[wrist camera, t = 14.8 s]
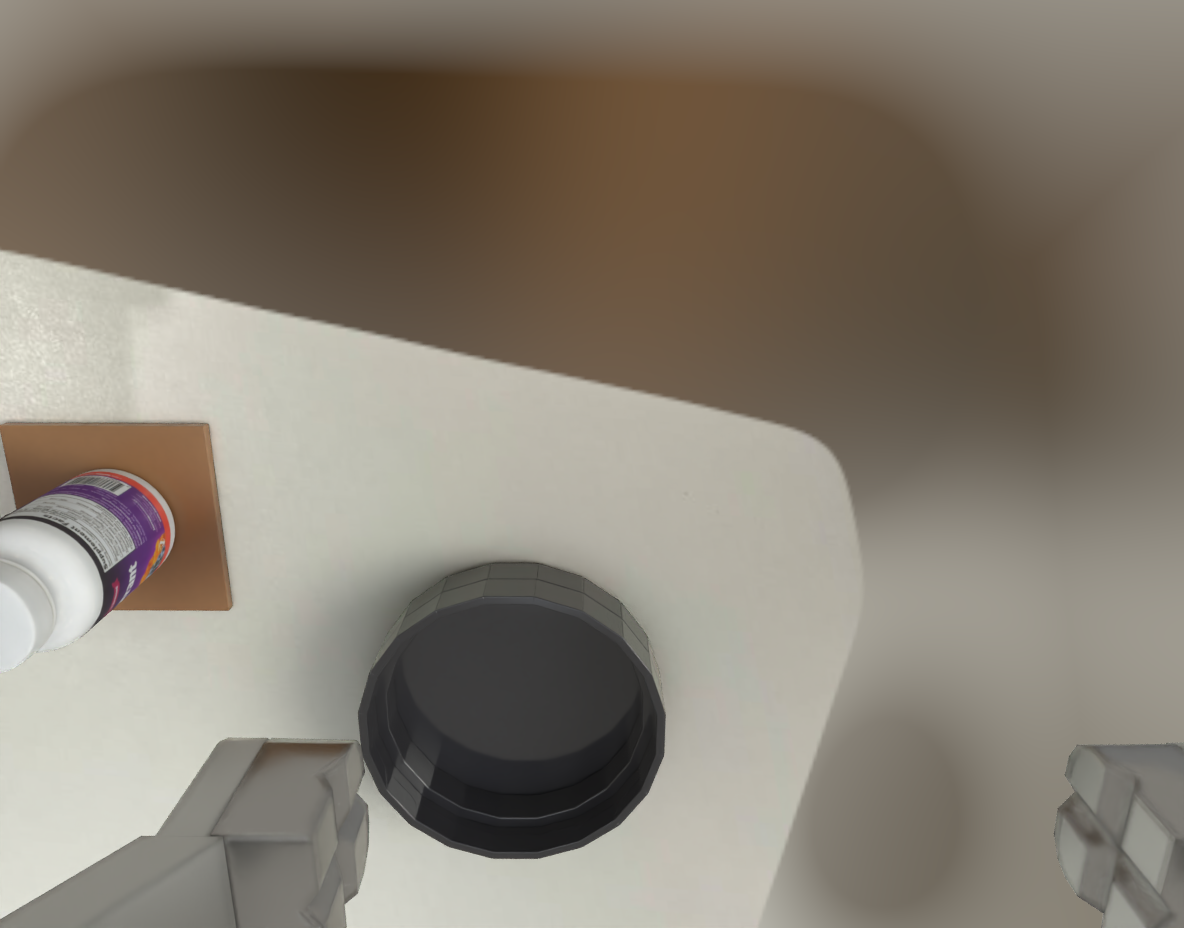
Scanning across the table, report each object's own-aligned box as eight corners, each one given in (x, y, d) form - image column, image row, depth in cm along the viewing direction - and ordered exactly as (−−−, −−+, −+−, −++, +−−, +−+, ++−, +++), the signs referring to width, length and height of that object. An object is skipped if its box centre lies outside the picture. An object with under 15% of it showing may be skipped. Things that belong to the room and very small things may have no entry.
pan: (368, 560, 41) (347, 596, 37) (663, 561, 41) (670, 596, 37) (387, 805, 45) (370, 858, 41) (655, 806, 45) (660, 859, 41)
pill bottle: (122, 597, 41) (-16, 719, 31) (33, 513, 39) (-138, 614, 30) (204, 531, 40) (86, 636, 30) (116, 442, 38) (-36, 523, 29)
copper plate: (5, 422, 38) (-2, 425, 38) (208, 423, 39) (203, 426, 38) (43, 605, 41) (37, 610, 41) (233, 606, 41) (228, 610, 41)
